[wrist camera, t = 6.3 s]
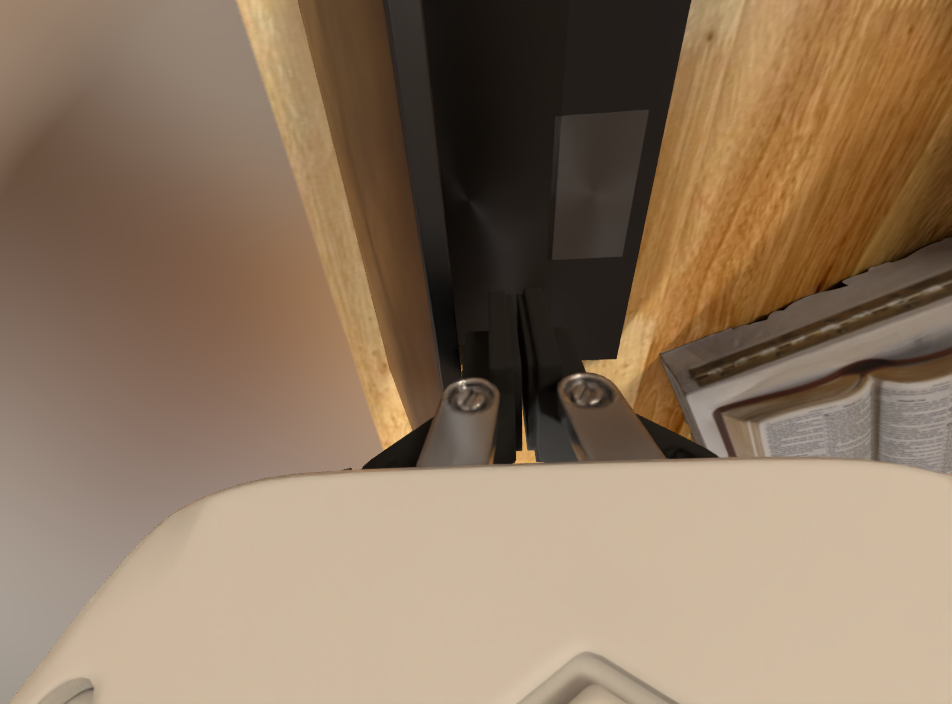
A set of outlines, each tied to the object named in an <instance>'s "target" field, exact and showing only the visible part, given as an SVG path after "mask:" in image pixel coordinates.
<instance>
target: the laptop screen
mask: <svg viewBox="0 0 952 704" xmlns="http://www.w3.org/2000/svg"><path fill="white" fill-rule="evenodd" d="M298 4H299V8H300V12H301V16H302V20H303V24H304V28H305V32H306V36H307V40H308V44H309V48H310V52H311V56H312V60H313V64H314V68H315V72H316V76H317V80H318V84H319V88H320V92H321V96H322V100H323V104H324V108H325V112H326V116H327V120H328V124H329V128H330V132H331V136H332V140H333V144H334V148H335V152H336V156H337V160H338V164H339V168H340V172H341V176H342V180H343V184H344V188H345V192H346V196H347V200H348V204H349V208H350V212H351V216H352V220H353V224H354V228H355V232H356V236H357V240H358V244H359V248H360V252H361V256H362V260H363V264H364V268H365V272H366V276H367V280H368V284H369V288H370V292H371V296H372V300H373V304H374V308H375V312H376V316H377V320H378V324H379V328H380V332H381V336H382V340H383V344H384V348H385V352H386V356H387V360H388V364H389V368H390V371H391V374H392V377H393V379H394V382H395V385H396V387H397V390H398V393H399V395H400V398H401V401H402V403H403V406H404V409H405V411H406V414H407V417H408V419H409V422H410V425H411V427H412V430H415V429H416V428H418V427H419V426H421V425H422V424H424V423H425V422H426V421H428V420H429V419H431V418H432V417H434V415H435V413H436V410H437V407H438V404H439V402H440V399H441V396H442V394H443V392H444V390H445V389H446V388H447V387H448V386H449V385H450V384H451V383H453V382H455V381H457V380H460V379H462V375H461V365H460V356H459V346H458V337H457V327H456V317H455V308H454V298H453V289H452V279H451V270H450V260H449V250H448V241H447V231H446V222H445V212H444V202H443V193H442V183H441V174H440V164H439V155H438V145H437V135H436V126H435V116H434V107H433V97H432V88H431V78H430V68H429V59H428V49H427V40H426V30H425V21H424V11H423V1H422V0H298Z"/></svg>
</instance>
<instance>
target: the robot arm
mask: <svg viewBox="0 0 952 704" xmlns="http://www.w3.org/2000/svg"><path fill="white" fill-rule="evenodd" d="M488 317H489V331H473V332H466V335H465V347H464V359H463V371H462V379H460V380H457V381H455V382H453V383H451V384H450V385H449V386H448V387H447V388H446V389H445V390H444V392H443V394H442V396H441V399H440V402H439V404H438V407H437V410H436V413H435V415H434V417H432V418H431V419H429V420H428V421H426V422H425V423H424V424H422V425H421V426H419V427H418V428H416V429H415V430H413V431H412V432H410V433H409V434H408V435H406V436H405V437H403V438H402V439H400V440H399V441H397V442H396V443H394V444H393V445H392V446H390V447H389V448H387V449H386V450H384V451H383V452H381V453H380V454H378V455H377V456H376V457H374V458H373V459H371V460H370V461H369V462H368V463H367V464H366V465H364V466H363V468H362V469H361V470H352V468H349V469H344V470H340V471H328V472H316V473H302V474H301V473H300V474H290V475H283V476H276V477H270V478H264V479H260V480H255V481H251V482H247V483H243V484H239V485H236V486H233V487H230V488H227V489H224V490H221V491H218V492H216V493H213V494H210V495H208V496H206V497H203V498H201V499H199V500H196V501H194V502H192V503H191V504H188V505H187V506H184V507H182V508H181V509H179V510H178V511H176V512H175V513H173V514H172V515H170V516H169V517H167V518H166V519H165V520H164V521H162V522H161V523H160V524H159V525H158V526H157V527H155V528H154V529H153V530H152V531H151V532H150V533H149V534H148V535H147V536H146V537H145V538H144V539H143V540H142V541H141V542H140V543H139V544H138V545H137V546H136V547H135V548H134V550H132V552H130V554H129V555H128V556H127V557H126V558H125V559H124V561H123V562H122V563H121V564H120V565H119V566H118V567H117V569H116V570H115V571H114V572H113V573H112V574H111V575H110V577H109V578H108V579H107V580H106V581H105V582H104V584H103V585H102V586H101V587H100V588H99V590H98V591H97V592H96V593H95V595H94V596H93V597H92V598H91V599H90V601H89V602H88V603H87V604H86V605H85V607H84V608H83V609H82V610H81V612H80V613H79V614H78V615H77V617H76V618H75V619H74V620H73V622H72V623H71V624H70V626H69V627H68V628H67V630H66V631H65V632H64V634H63V635H62V636H61V637H60V638H59V640H58V641H57V642H56V643H55V645H54V646H53V647H52V648H51V650H50V651H49V652H48V654H47V655H46V656H45V657H44V659H43V660H42V661H41V663H40V664H39V665H38V666H37V667H36V669H35V670H34V671H33V673H32V674H31V675H30V676H29V678H28V679H27V680H26V681H25V683H24V684H23V685H22V687H21V688H20V689H19V691H18V692H17V693H16V695H15V696H14V697H13V699H12V700H11V701H10V703H9V704H952V476H950V475H947V474H943V473H939V472H934V471H930V470H926V469H921V468H917V467H912V466H908V465H903V464H896V463H889V462H882V461H875V460H868V459H855V458H841V457H734V456H728V457H727V458H720V457H718V456H717V455H716V454H715V453H713V452H711V451H710V450H708V449H706V448H705V447H703V446H701V445H699V444H697V443H695V442H693V441H690V440H688V439H686V438H684V437H682V436H680V435H678V434H676V433H674V432H672V431H670V430H668V429H666V428H664V427H662V426H660V425H658V424H656V423H654V422H652V421H650V420H648V419H646V418H644V417H642V416H640V415H638V414H636V413H635V412H634V411H633V409H632V408H631V407H630V405H629V404H628V402H627V401H626V399H625V398H624V397H623V395H622V394H621V392H620V391H619V389H618V388H617V386H616V385H615V384H614V383H613V382H612V381H611V380H609V379H607V378H606V377H604V376H601V375H598V374H595V373H589V372H586V371H585V369H584V366H583V363H582V360H581V358H580V355H579V352H578V349H577V347H576V344H575V341H574V338H573V336H572V333H571V330H570V328H569V327H568V326H565V327H552V324H551V321H550V317H549V314H548V311H547V307H546V304H545V300H544V297H543V293H542V290H541V288H533V289H523V294H517V328H516V320H515V313H514V305H513V298H512V294H510V295H505V290H501V291H488ZM522 408H523V417H524V425H525V433H526V442H527V449H528V450H535V457H536V462H544V463H520V464H513V463H515V461H516V451H522Z"/></svg>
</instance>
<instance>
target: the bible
mask: <svg viewBox="0 0 952 704" xmlns="http://www.w3.org/2000/svg"><path fill="white" fill-rule="evenodd" d="M842 282H843V283H844V284H846V285H848V286H846V287H842V288H838V289H835V290H831V291H822V292H819V293H817V294H813V295H810V296H807V297H805V298H802V299H800V300H798V301H796V302H794V303H792V304H791V305H789V306H788V307H787V308H786V309H785V310H783V311H774V312H773V313H771V314H770V315H769V317H768V319H767V320H764V321H760V322H756V323H752V324H750V325H741V326H739V327H737V328H735V329H733V327H732V328H729V329H727V330H724V331H722V332H719V333H716V334H713V335H709V336H707V337H705V338H703V339H700V340H697V341H695V342H692V343H688V344H686V345H683V346H681V347H679V348H676V349H673V350H670V351H666V352H663V353H660V355H662V357H661V361H662V364H663V366H664V368H665V371H666V373H667V376H668V378H669V380H670V383H671V385H672V387H673V390H674V392H675V394H676V397H677V399H678V401H679V403H680V406H681V408H682V411H683V416H684V419H685V421H686V423H688V425H689V427H690V429H691V436H692V437H693V438H694V440H695V443H697V444H699V445H701V446H703V447H705V448H706V449H708V450H710V451H711V452H713V453H715V454H716V455H717V456H718V457H720V458H727V457H728V456H734V457H841V458H855V459H868V460H875V461H882V462H889V463H896V464H903V465H908V466H912V467H917V468H921V469H926V470H930V471H934V472H939V473H943V474H949V473H952V237H951V238H945V239H943V240H942V241H940V242H937V243H934V244H931V245H929V246H926V247H923V248H921V249H919V250H918V251H916V252H915V253H913V254H911V255H910V256H908V257H907V258H904V259H901V260H898V261H895V262H893V263H890V262H887V263H884V264H881V265H879V266H875V267H870V268H869V270H868V272H866V273H863V274H860V275H856V276H853V277H850V278H848V279H846V280H844V281H842ZM732 329H733V330H732Z"/></svg>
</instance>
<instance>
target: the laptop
mask: <svg viewBox="0 0 952 704" xmlns="http://www.w3.org/2000/svg"><path fill="white" fill-rule="evenodd" d="M422 1H423V11H424V21H425V30H426V40H427V49H428V59H429V68H430V78H431V88H432V97H433V107H434V116H435V126H436V135H437V145H438V155H439V164H440V174H441V183H442V193H443V202H444V212H445V222H446V231H447V241H448V250H449V260H450V270H451V279H452V289H453V298H454V308H455V317H456V327H457V337H458V346H459V356H460V364H463V359H464V347H465V335H466V332H473V331H489V317H488V291H501V290H505V295H510V294H512V298H513V305H514V313H515V320H516V328H517V294H523V289H533V288H541V290H542V293H543V297H544V300H545V304H546V307H547V311H548V314H549V317H550V321H551V324H552V327H565V326H568V327H569V328H570V330H571V333H572V336H573V338H574V341H575V344H576V347H577V349H578V352H579V355H580V358H581V360H602V359H617V354H618V349H619V344H620V339H621V335H622V330H623V325H624V320H625V315H626V311H627V306H628V301H629V296H630V291H631V287H632V282H633V277H634V272H635V267H636V263H637V258H638V253H639V248H640V243H641V239H642V234H643V229H644V224H645V219H646V215H647V210H648V205H649V200H650V196H651V191H652V186H653V181H654V176H655V172H656V167H657V162H658V157H659V152H660V148H661V143H662V138H663V133H664V128H665V124H666V119H667V114H668V109H669V104H670V100H671V95H672V90H673V85H674V80H675V76H676V71H677V66H678V61H679V56H680V52H681V47H682V42H683V37H684V33H685V28H686V23H687V18H688V13H689V9H690V4H691V0H422Z"/></svg>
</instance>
